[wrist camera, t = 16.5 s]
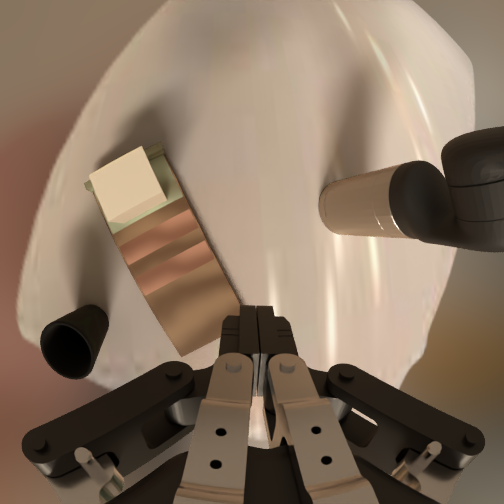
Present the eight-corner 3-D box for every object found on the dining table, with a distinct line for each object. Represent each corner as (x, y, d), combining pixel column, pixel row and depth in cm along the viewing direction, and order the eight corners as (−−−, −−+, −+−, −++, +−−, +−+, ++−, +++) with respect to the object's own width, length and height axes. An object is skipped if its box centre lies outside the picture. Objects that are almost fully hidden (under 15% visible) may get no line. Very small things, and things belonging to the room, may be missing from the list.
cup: (66, 301, 36) (32, 324, 24) (108, 294, 37) (82, 318, 26) (79, 346, 37) (53, 380, 25) (120, 341, 38) (102, 378, 27)
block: (167, 200, 38) (162, 191, 29) (124, 223, 36) (108, 221, 28) (150, 163, 37) (141, 145, 28) (108, 186, 35) (88, 175, 27)
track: (247, 319, 43) (254, 327, 39) (181, 354, 41) (181, 365, 37) (162, 149, 38) (160, 141, 34) (92, 187, 36) (84, 183, 32)
